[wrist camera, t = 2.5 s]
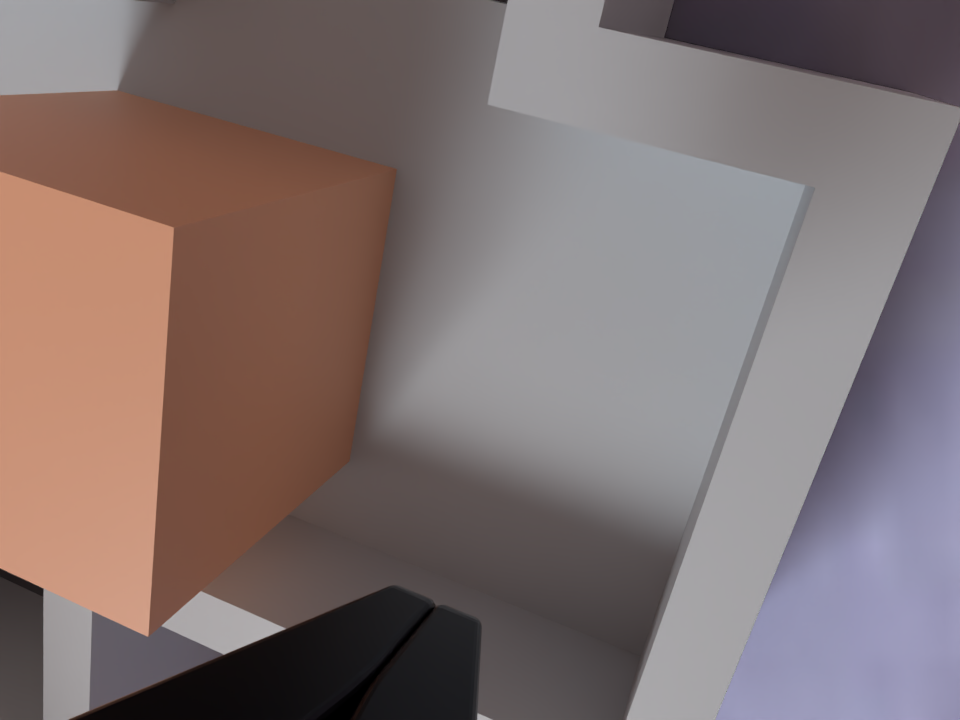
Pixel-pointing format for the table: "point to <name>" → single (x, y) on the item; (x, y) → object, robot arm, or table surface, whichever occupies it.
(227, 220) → the block
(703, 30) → the table surface
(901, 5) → the table surface
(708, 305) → the trap lane
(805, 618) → the table surface
